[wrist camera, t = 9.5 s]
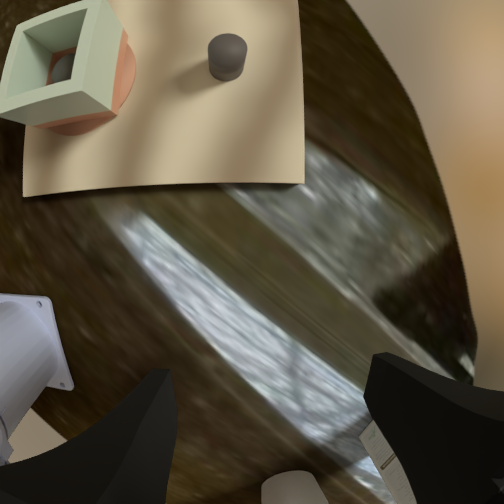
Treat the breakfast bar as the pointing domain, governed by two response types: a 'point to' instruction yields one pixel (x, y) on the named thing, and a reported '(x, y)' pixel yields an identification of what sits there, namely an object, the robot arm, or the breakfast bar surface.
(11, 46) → the sleeve
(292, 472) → the dixie cup
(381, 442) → the syrup box
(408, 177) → the breakfast bar surface
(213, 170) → the pin board
